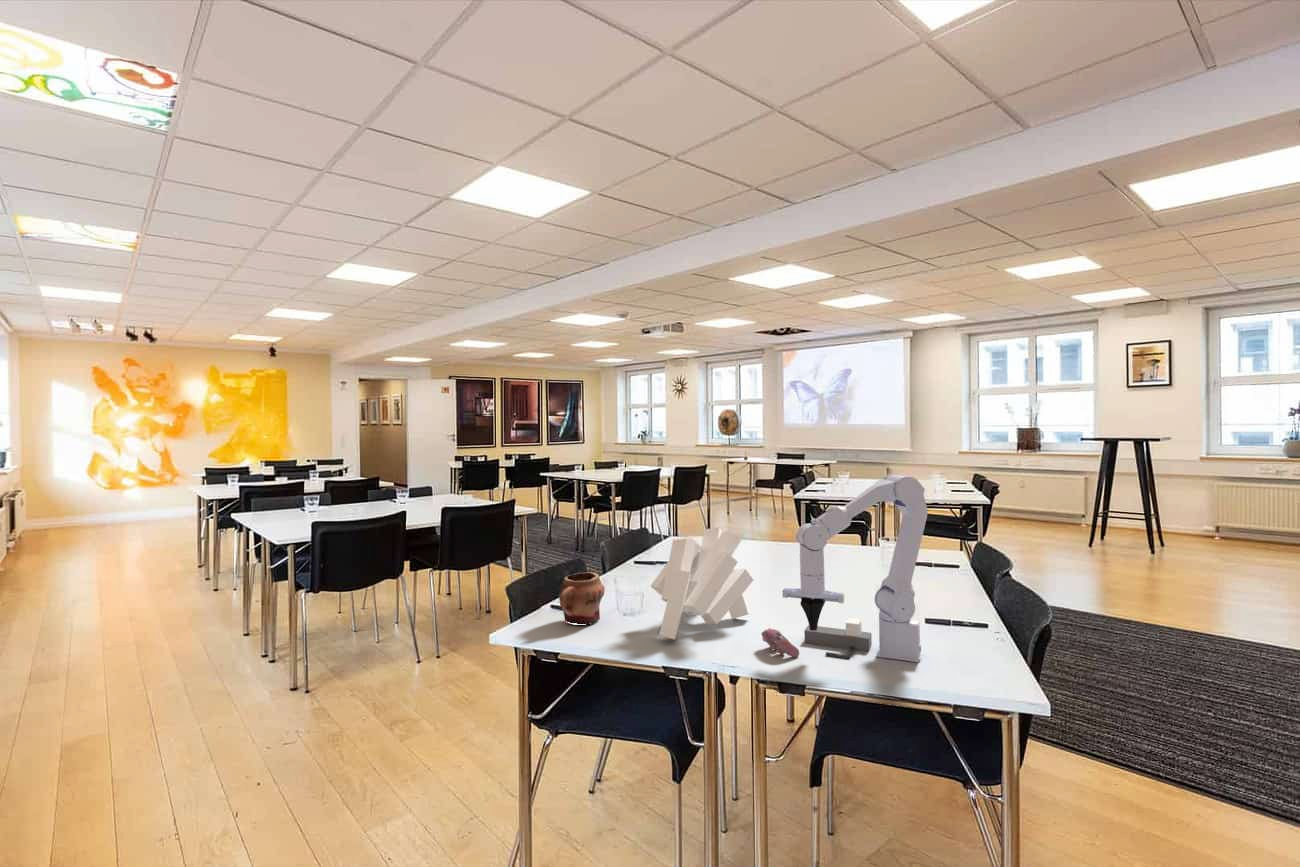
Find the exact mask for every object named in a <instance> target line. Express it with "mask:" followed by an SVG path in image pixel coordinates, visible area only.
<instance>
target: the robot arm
mask: <svg viewBox="0 0 1300 867" xmlns="http://www.w3.org/2000/svg"><path fill="white" fill-rule="evenodd" d="M925 490H926V489H925V488H924V486H923V484H921V482H920V481H919V480H918V479H917V478H916V477H914V476H909V475H898V474H896V473H889V474H887V475H885V476H883V478H880V479H878V480H876V481H875V482H874V483H873V484H872V485H870V486H869V487H868V488H867V489H866V490H863V492H861V493H860V494H858V495H857V496H855V497H854V498H853V499H852V500H851V501H849V502H848V503H846V504H845V505H844V506H841V505H840V506H839V505H834V506H828V507H827V508H826V511H825V512H824V513H822V514H821V515H819V516H818V517H816V518H815V517H813V518H812V519H811V520H810V521H811V523H810V522H809V523H803V524H802V525H801V526H800V527H799V528H798V530H797V533H796V534H795V539H796V541H797V542H798V543H799V568H800V569H799V572H800V576H799V577H800V588H798V587H796V588H795V587H794V588H793V587H792V588H790V587H789V588H788V587H787V588H786V587H784V588H782V593H781V595H782V598H785V599H787V598H791V599H799V600H800V606H801V608H802V609H803V610H802V611H803V612H804V614H805V616H806V619H807V622H808V625H809V627H810V630H813V631H816V630H817V626H819V625H818V624H819V619H820V616H821V613H822V609H823V607H824V605H825V603H826V602H831V603H832V602H833V603H834V602H835V603H839V604H844V603H845V593H843V592H835V591H830V590H826V589H825V588H826V587H825V586H826V585H825V584H826V583H825V582H826V581H825V555H824V551H825V550H824V549H825V546H826V545H827V544H828V540H831V538H833V537H835V536H836V535H837V534H839V533H840V532H842V531H844V530H846V529H847V528H848V527H850V526H851V523H852V519H853V518H854V517H856V516H858V515H859V514H861V513H863V512H864V511H865V510H866V511H867V510H868V509H869V508H871V507H872V506H874V505H876V504H878V503H880V502H892V503H893V504H894V505H895V506H896V507H897V508H898V510H899V512H901V514H902V516H901V517H902V518H901V521H900V526H899V529H898V533H897V538H896V542H895V546H894V550H893V555H892V558H891V563H890V566H889V571H888V575H887V576H886V577H885V578H884V579H883V580H882V582H881V585H880V587H879V588H878V590H877V591H876V593H875V594H874V604H875V606H876V607H877V608H878V609H879V612H878V627H879V628H878V630H879V632H878V633H879V635H878V637H879V639H878V642H879V643H878V644H879V646H878V649H877V651H876V654H875V656H876V657H878V658H885V659H891V660H899V661H906V662H907V661H908V662H913V663H919V662H920V656H921V653H922V644H921V634H920V632H921V628H920V627H921V626H920V625H921V624H920V623H921V622H920V620H915V619H913V617H914V615H915V613H916V612H915V611H916V605H915V596H916V593H915V590H914V587H913V584H912V580H913V577H914V572H915V569H916V563H917V560H918V556H919V552H920V547H921V545H922V544H921V543H922V540H923V535H924V530H925V526H926V522H927V519H928V512H929V511H928V507H927V504H926V498H925Z"/></svg>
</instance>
